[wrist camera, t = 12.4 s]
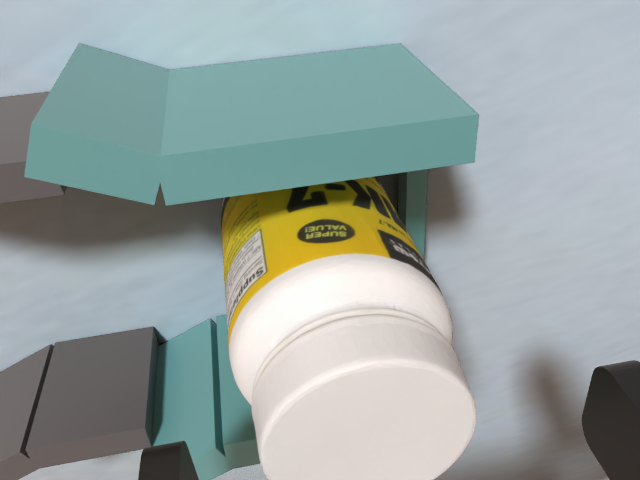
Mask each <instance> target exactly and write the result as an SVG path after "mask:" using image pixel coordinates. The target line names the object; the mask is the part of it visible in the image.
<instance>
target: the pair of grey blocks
mask: <svg viewBox="0 0 640 480" xmlns="http://www.w3.org/2000/svg"><path fill="white" fill-rule="evenodd" d="M49 93H50V92H43V93H34V94H25V95H17V96H8V97H0V204H1V203H9V202H16V201H23V200H31V199H38V198H46V197H53V196H60V195H64V193H65V190H66V188H67V186H64V185H59V184H55V183H50V182H45V181H41V180H36V179H32V178H27V177H24V175H25V167H26V159H27V151H28V144H29V136H30V128H31V123H32V122H33V120H34V118H35V117H36V115H37V113H38V111H39V110H40V108H41V106H42V105H43V103H44V101H45V100H46V98H47V96H48V95H49ZM157 359H158V342H157V339H156V335H155V332H154V328H153V327H149V328H143V329H136V330H130V331H124V332H118V333H112V334H106V335H100V336H94V337H88V338H81V339H75V340H69V341H63V342H57V343H55V346H54V347H53V346H52V345H49V346H47V347H45V348H43V349H41V350H40V351H38V352H36V353H34V354H32V355H30V356H29V357H27V358H25V359H23V360H21V361H20V362H18V363H16V364H14V365H12V366H11V367H9V368H7V369H5V370H3V371H2V372H0V480H18V479H20V478H22V477H24V476H26V475H28V474H30V473H32V472H34V471H35V470H37V469H39V468H44V467H50V466H55V465H60V464H66V463H71V462H76V461H82V460H87V459H92V458H98V457H103V456H108V455H114V454H119V453H124V452H130V451H135V450H140V449H144V448H146V447H152V432H153V418H154V403H155V388H156V373H157Z"/></svg>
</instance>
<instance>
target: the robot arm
mask: <svg viewBox="0 0 640 480" xmlns="http://www.w3.org/2000/svg"><path fill="white" fill-rule="evenodd" d="M582 426H583V431H584V435H585V438H586V441H587V443H588V445H589V447H590V449H591V451H592V452H593V454H594V455H595V457H596V458H597V460H598V462H599V463H600V465H601V466H602V468H603V469H604V471H605V473H606V474H607V476H608V477H609V479H610V480H640V362H638V361H634V360H633V361H627V362H622V363H616V364H611V365H605V366H600V367H597V368H595V370H594V371H593V374H592V378H591V382H590V386H589V390H588V395H587V399H586V403H585V407H584V411H583V415H582ZM138 480H199V478H198V475H197V473H196V470H195V467H194V464H193V461H192V458H191V455H190V452H189V449H188V446H187V444H186V442H185V441H179V442H174V443H168V444H163V445H157V446H152V447H146V448H144V450H143V452H142V455H141V462H140V470H139V478H138Z"/></svg>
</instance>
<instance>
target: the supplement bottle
mask: <svg viewBox="0 0 640 480" xmlns="http://www.w3.org/2000/svg"><path fill="white" fill-rule="evenodd" d="M221 228H222V244H223V263H224V281H225V297H226V312H227V329H228V346H229V358H230V364H231V368H232V372H233V375H234V379H235V381H236V384H237V386H238V388H239V389H240V391H241V393H242V395H243V396H244V397H245V399H246V400H247V401H248V402H249V404H250V405H251V406H252V417H253V421H254V425H255V432H256V439H257V447H258V454H259V458H260V463H261V466H262V469H263V471H264V473H265V475H266V477H267V478H268V479H269V480H434V479H435V478H437V477H438V476H439V475H441V474H442V473H443V472H445V471H446V470H447V469H448V468H449V467H450V466H451V465H452V464H453V463H454V462H455V461H456V460H457V459H458V458H459V457H460V455H461V454H462V453H463V451H464V450H465V449H466V447H467V446H468V444H469V442H470V440H471V438H472V435H473V432H474V429H475V425H476V406H475V402H474V397H473V395H472V393H471V390H470V388H469V386H468V384H467V381H466V379H465V376H464V374H463V372H462V369H461V367H460V364H459V360H458V358H457V355H456V353H455V351H454V349H453V348H452V346H451V344H452V322H451V317H450V313H449V310H448V307H447V304H446V302H445V300H444V298H443V295H442V293H441V291H440V289H439V287H438V285H437V283H436V282H435V280H434V278H433V277H432V275H431V273H430V271H429V269H428V267H427V266H426V264H425V262H424V260H423V259H422V257H421V255H420V253H419V251H418V250H417V248H416V246H415V244H414V242H413V241H412V239H411V237H410V235H409V233H408V231H407V229H406V228H405V226H404V224H403V223H402V221H401V219H400V217H399V216H398V214H397V212H396V210H395V209H394V207H393V205H392V203H391V202H390V200H389V198H388V196H387V194H386V192H385V190H384V189H383V187H382V185H381V184H380V182H379V180H378V178H377V177H376V176H374V177H367V178H360V179H353V180H346V181H339V182H331V183H324V184H317V185H310V186H303V187H296V188H289V189H282V190H274V191H267V192H260V193H253V194H246V195H239V196H232V197H225V198H224V199H223V203H222V210H221Z"/></svg>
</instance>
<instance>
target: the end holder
mask: <svg viewBox="0 0 640 480" xmlns="http://www.w3.org/2000/svg"><path fill="white" fill-rule="evenodd" d="M478 120H479V114H478V113H477V112H476V111H475V110H474V109H473V108H472V107H470V106H469V105H468V104H467V103H466V102H465V101H464V100H463V99H462V98H461V97H459V96H458V95H457V94H456V93H455V92H454V91H453V90H452V89H451V88H450V87H448V86H447V85H446V84H445V83H444V82H443V81H442V80H441V79H440V78H439V77H437V76H436V75H435V74H434V73H433V72H432V71H431V70H430V69H429V68H427V67H426V66H425V65H424V64H423V63H422V62H421V61H420V60H419V59H418V58H416V57H415V56H414V55H413V54H412V53H411V52H410V51H409V50H408V49H407V48H405V47H404V46H403V45H402V44H401V43H400V44H391V45H382V46H373V47H364V48H356V49H347V50H338V51H329V52H321V53H312V54H303V55H294V56H285V57H277V58H268V59H259V60H250V61H241V62H233V63H224V64H215V65H206V66H198V67H189V68H180V69H171V70H169V69H166V68H162V67H159V66H155V65H152V64H149V63H145V62H142V61H138V60H135V59H132V58H128V57H125V56H122V55H118V54H115V53H111V52H108V51H105V50H101V49H98V48H94V47H91V46H88V45H84V44H81V43H79V44H78V46H77V47H76V49H75V51H74V52H73V54H72V56H71V57H70V59H69V61H68V63H67V64H66V66H65V68H64V69H63V71H62V73H61V74H60V76H59V78H58V79H57V81H56V83H55V84H54V86H53V88H52V90H51V91H50V93H49V95H48V96H47V98H46V100H45V101H44V103H43V105H42V106H41V108H40V110H39V111H38V113H37V115H36V117H35V118H34V120H33V122H32V123H31V128H30V136H29V144H28V151H27V159H26V167H25V175H24V177H27V178H32V179H36V180H41V181H45V182H50V183H55V184H59V185H64V186H68V187H73V188H78V189H82V190H87V191H91V192H96V193H101V194H105V195H110V196H114V197H119V198H124V199H128V200H133V201H138V202H142V203H147V204H151V205H154V204H155V200H156V197H157V193H158V189H159V185H160V184H161V188H162V192H163V196H164V201H165V205H166V206H168V205H175V204H182V203H189V202H196V201H203V200H210V199H217V198H225V197H232V196H239V195H246V194H253V193H260V192H267V191H274V190H282V189H289V188H296V187H303V186H310V185H317V184H324V183H331V182H339V181H346V180H353V179H360V178H367V177H374V176H381V175H388V174H396V173H399V185H398V216H399V217H400V219H401V221H402V223H403V224H404V226H405V228H406V229H407V231H408V233H409V235H410V237H411V239H412V241H413V242H414V244H415V246H416V248H417V250H418V251H419V253H420V255H421V257H422V259H423V260H424V243H425V222H426V201H427V181H428V169H431V168H438V167H445V166H453V165H460V164H467V163H474V161H475V151H476V140H477V130H478ZM216 322H217V325H216V324H215V323H214V322H213V321H212V320H211V319H208V320H207V321H205V322H203V323H201V324H199V325H197V326H195V327H194V328H192V329H190V330H188V331H186V332H184V333H182V334H181V335H179V336H177V337H175V338H173V339H171V340H169V341H167V342H166V343H164V344H162V345H160V346H158V359H157V373H156V388H155V403H154V418H153V432H152V446H157V445H163V444H168V443H174V442H179V441H185V442H186V444H187V446H188V449H189V452H190V455H191V458H192V461H193V464H194V467H195V470H196V473H197V475H198V478H199V480H212V479H214V478H216V477H218V476H220V475H222V474H224V473H226V472H228V471H230V470H232V469H234V468H239V467H244V466H250V465H255V464H260V458H259V454H258V447H257V439H256V432H255V425H254V421H253V417H252V406H251V405H250V404H249V402H248V401H247V400H246V399H245V397H244V396H243V395H242V393H241V391H240V389H239V388H238V386H237V384H236V381H235V379H234V375H233V372H232V368H231V364H230V358H229V346H228V329H227V315H222V316H216Z"/></svg>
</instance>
